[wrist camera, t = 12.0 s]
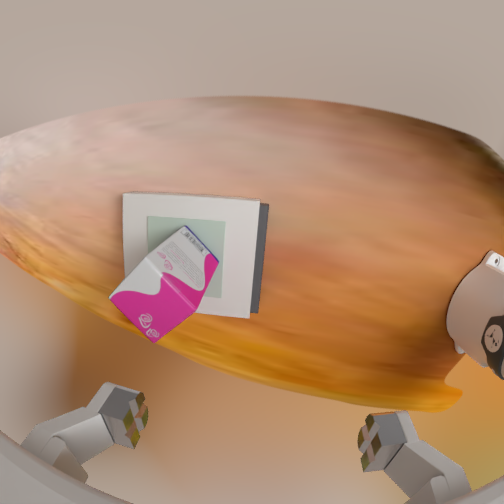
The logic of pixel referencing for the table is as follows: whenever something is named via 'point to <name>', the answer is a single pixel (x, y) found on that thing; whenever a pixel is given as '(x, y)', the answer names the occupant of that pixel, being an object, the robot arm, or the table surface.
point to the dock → (204, 241)
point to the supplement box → (166, 284)
